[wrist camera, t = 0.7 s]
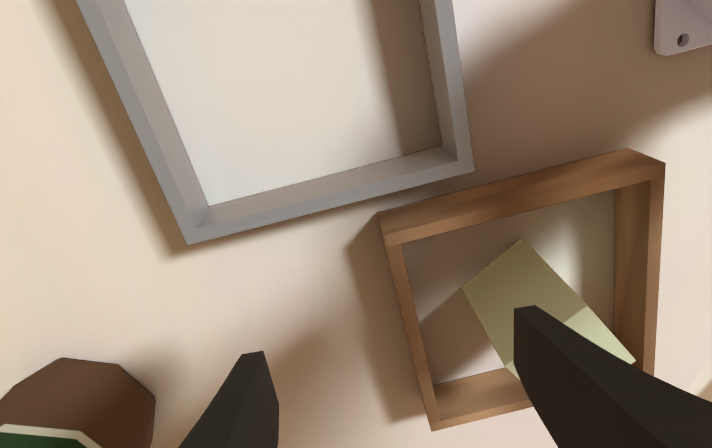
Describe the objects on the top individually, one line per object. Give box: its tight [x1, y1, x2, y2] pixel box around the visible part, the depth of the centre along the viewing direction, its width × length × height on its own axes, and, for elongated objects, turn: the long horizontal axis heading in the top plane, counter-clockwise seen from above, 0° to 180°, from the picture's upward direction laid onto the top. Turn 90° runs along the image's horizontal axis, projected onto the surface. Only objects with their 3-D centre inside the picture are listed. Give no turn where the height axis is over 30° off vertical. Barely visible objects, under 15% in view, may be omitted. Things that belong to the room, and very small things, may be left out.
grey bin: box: [76, 0, 475, 245], centre depth 17 cm, size 12×12×2 cm
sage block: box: [461, 238, 636, 381], centre depth 21 cm, size 4×4×6 cm
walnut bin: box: [377, 148, 666, 432], centre depth 23 cm, size 12×12×2 cm
